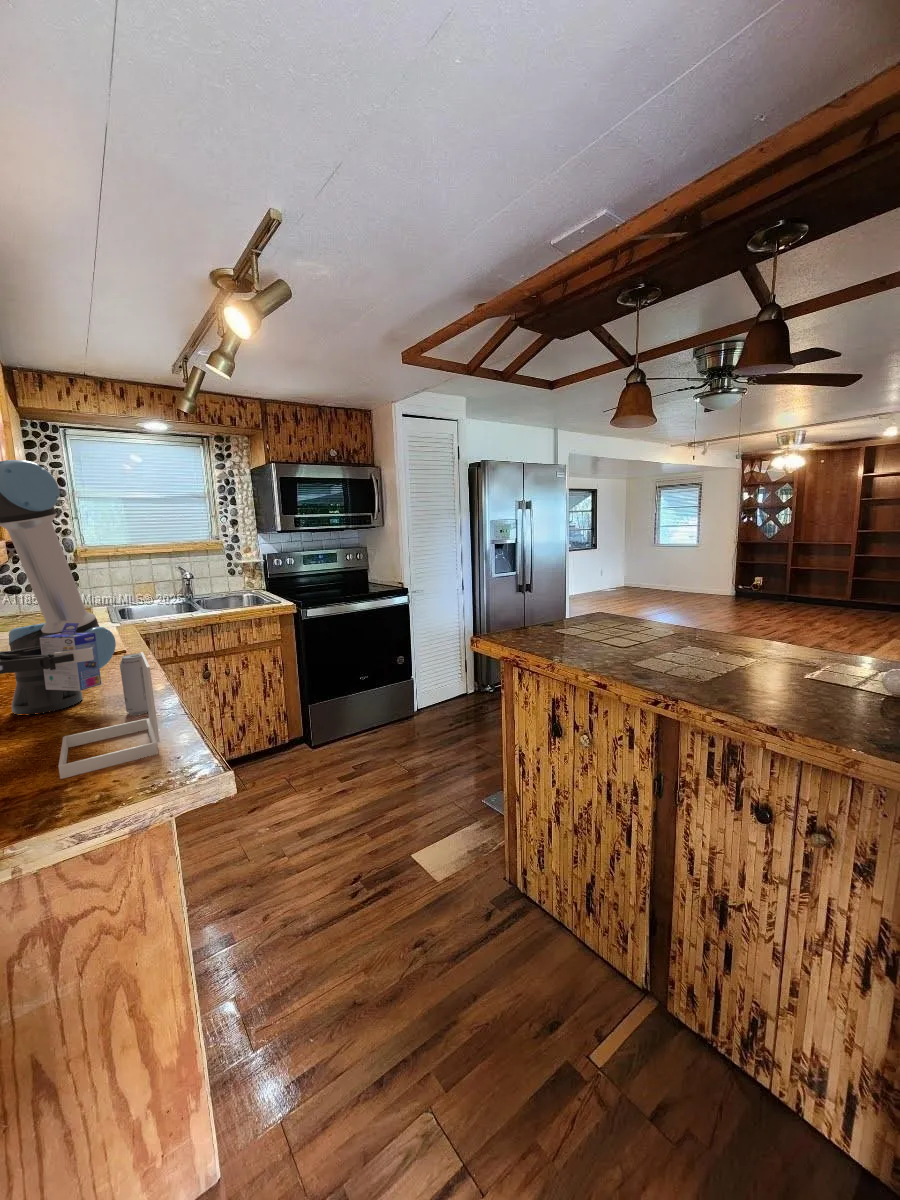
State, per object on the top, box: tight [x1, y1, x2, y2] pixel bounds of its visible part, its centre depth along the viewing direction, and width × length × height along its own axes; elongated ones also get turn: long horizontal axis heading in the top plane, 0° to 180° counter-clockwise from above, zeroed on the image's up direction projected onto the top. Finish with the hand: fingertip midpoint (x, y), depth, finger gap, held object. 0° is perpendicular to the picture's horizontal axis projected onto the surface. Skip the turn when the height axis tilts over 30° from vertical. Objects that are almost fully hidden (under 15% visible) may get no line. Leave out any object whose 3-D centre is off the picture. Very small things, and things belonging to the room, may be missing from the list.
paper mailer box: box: [58, 651, 160, 780], centre depth 103 cm, size 18×16×18 cm
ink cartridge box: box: [40, 623, 102, 692], centre depth 110 cm, size 10×6×14 cm, turn 78°
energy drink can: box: [119, 653, 149, 716], centre depth 126 cm, size 6×6×15 cm
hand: (93, 649), depth 112 cm, fingers closed on ink cartridge box, 10 cm apart
